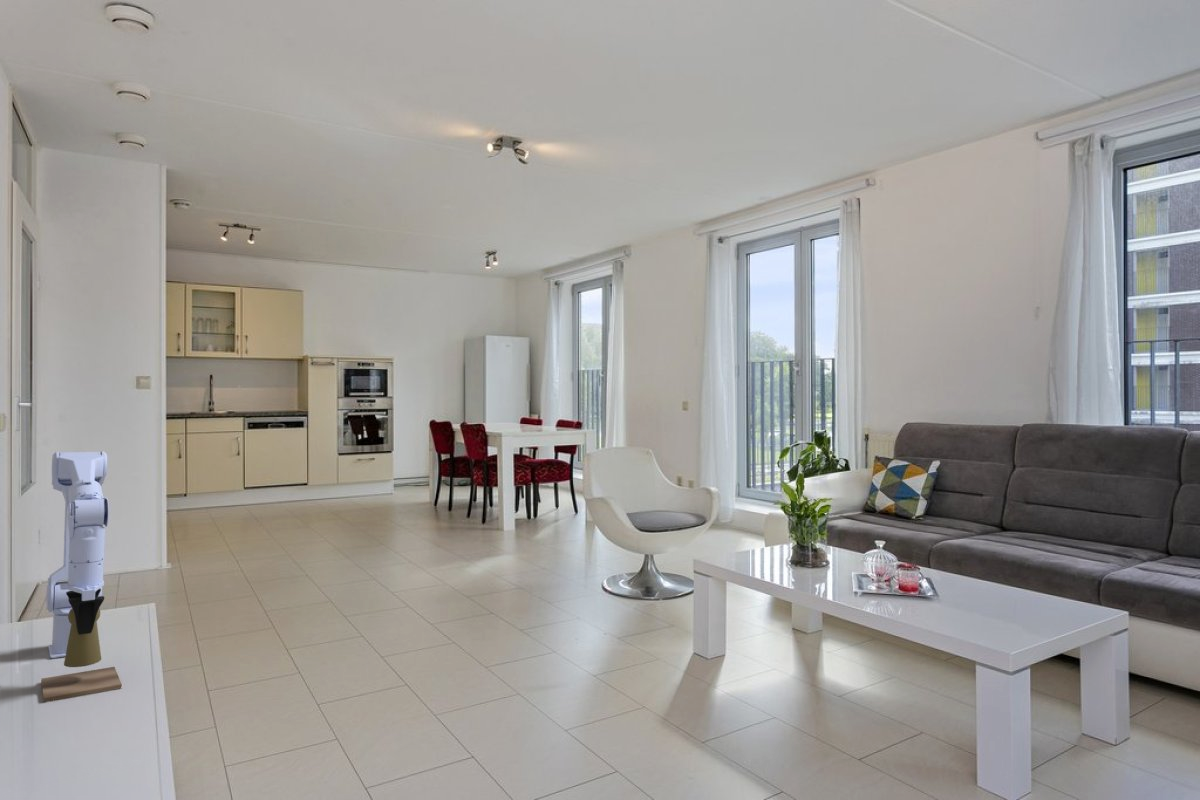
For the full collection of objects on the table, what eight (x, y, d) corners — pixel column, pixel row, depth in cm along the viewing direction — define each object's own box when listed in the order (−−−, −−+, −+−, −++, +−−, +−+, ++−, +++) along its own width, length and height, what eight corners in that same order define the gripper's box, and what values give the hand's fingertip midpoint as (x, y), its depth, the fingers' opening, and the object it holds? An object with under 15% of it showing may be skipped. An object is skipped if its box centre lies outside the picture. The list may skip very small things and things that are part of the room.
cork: (84, 668, 140) (86, 610, 140) (55, 666, 141) (57, 609, 141) (108, 657, 146) (110, 602, 146) (81, 655, 147) (83, 600, 147)
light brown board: (41, 682, 143) (41, 678, 143) (114, 670, 151) (114, 666, 151) (43, 702, 134) (43, 698, 134) (121, 688, 142) (121, 684, 142)
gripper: (59, 556, 147) (56, 624, 147) (63, 569, 136) (60, 642, 135) (101, 552, 151) (98, 618, 151) (109, 565, 140) (106, 636, 140)
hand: (83, 630), depth 144 cm, fingers closed on cork, 5 cm apart
